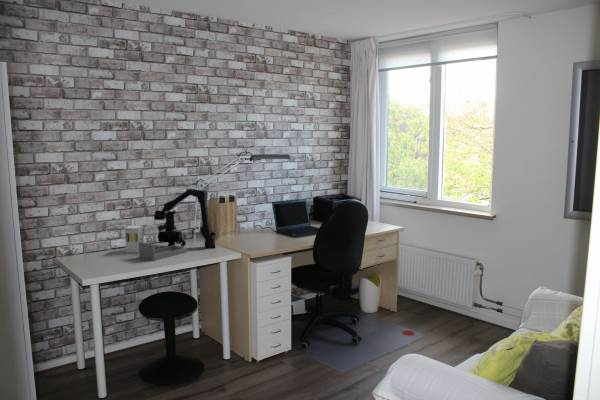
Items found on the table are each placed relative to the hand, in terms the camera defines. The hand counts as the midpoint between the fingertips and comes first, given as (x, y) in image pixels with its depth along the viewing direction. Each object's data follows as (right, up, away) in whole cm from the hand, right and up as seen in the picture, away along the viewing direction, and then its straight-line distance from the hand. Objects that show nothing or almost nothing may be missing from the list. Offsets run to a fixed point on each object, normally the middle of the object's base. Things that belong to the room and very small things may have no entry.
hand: (171, 242), depth 343 cm
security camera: (+1, -3, 0) cm, 3 cm away
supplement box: (-22, -5, -11) cm, 25 cm away
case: (+2, -6, -22) cm, 23 cm away
